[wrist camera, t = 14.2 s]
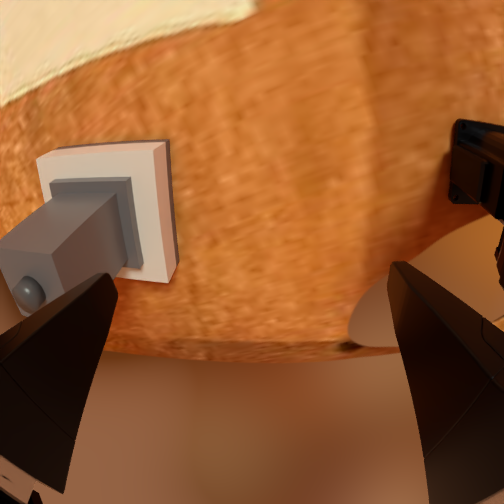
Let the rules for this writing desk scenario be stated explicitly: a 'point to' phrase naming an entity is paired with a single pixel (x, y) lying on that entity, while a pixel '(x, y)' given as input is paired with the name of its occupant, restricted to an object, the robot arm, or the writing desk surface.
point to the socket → (144, 192)
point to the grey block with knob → (71, 240)
